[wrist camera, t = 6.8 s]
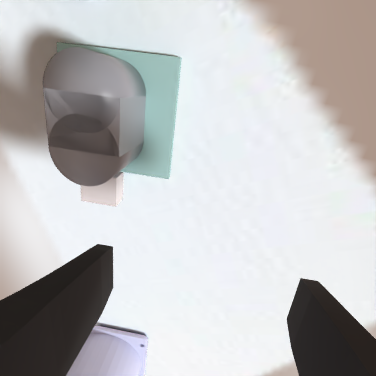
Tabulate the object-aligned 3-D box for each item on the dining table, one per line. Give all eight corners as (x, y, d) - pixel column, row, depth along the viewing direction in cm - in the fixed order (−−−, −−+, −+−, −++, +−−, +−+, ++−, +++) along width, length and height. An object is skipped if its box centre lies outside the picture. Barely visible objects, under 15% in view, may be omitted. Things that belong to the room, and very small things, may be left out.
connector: (141, 192, 19) (118, 220, 15) (90, 183, 19) (54, 209, 15) (147, 62, 16) (120, 52, 12) (86, 54, 16) (39, 42, 12)
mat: (169, 176, 19) (168, 178, 18) (68, 160, 19) (64, 162, 19) (181, 58, 16) (180, 57, 15) (61, 43, 16) (56, 42, 16)
